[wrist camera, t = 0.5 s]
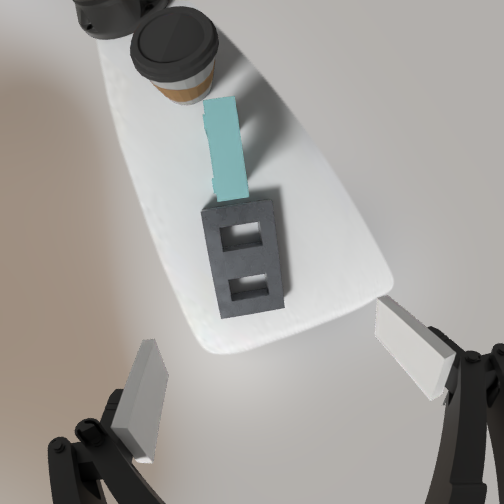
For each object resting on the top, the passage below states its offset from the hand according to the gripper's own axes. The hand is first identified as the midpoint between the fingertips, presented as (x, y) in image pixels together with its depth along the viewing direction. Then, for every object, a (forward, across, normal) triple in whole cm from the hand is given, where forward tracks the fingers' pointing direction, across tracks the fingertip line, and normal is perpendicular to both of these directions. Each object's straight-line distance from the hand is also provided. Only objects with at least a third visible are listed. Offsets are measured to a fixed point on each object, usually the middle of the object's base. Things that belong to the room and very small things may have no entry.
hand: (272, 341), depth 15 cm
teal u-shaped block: (+24, 0, +12) cm, 27 cm away
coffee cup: (+25, -4, +22) cm, 34 cm away
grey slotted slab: (+24, 0, -2) cm, 24 cm away
